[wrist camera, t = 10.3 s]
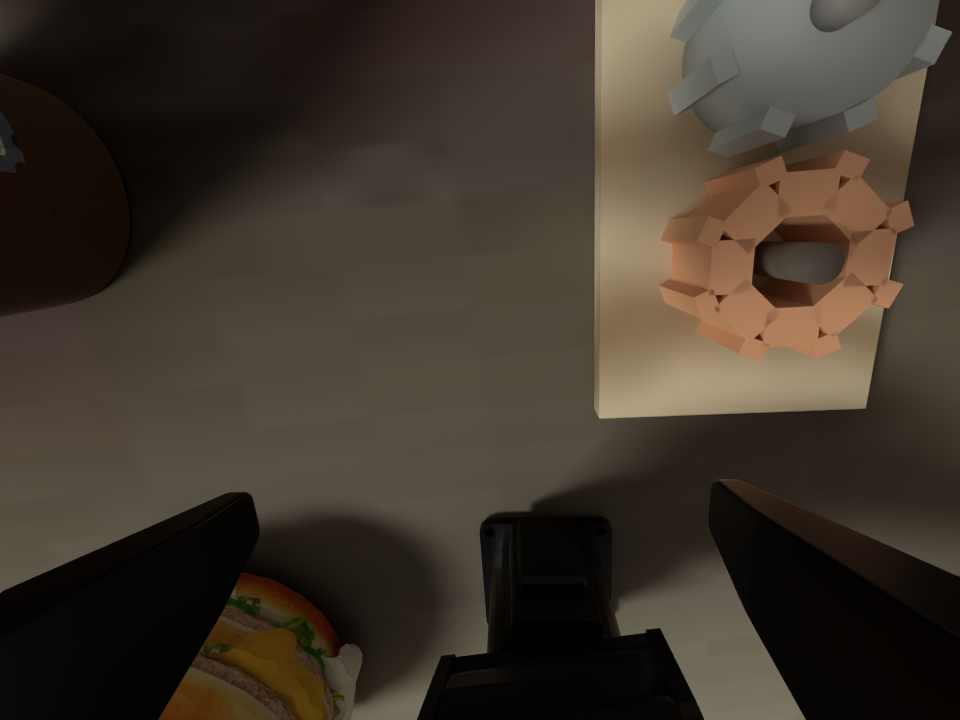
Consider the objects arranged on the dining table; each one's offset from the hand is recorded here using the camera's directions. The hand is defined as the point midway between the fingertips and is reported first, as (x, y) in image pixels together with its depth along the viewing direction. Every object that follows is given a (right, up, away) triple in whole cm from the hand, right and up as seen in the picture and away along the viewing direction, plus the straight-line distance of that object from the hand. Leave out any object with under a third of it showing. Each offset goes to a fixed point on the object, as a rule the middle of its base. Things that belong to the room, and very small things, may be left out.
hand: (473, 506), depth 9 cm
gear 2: (+10, +7, +9) cm, 15 cm away
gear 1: (+10, +13, +7) cm, 18 cm away
